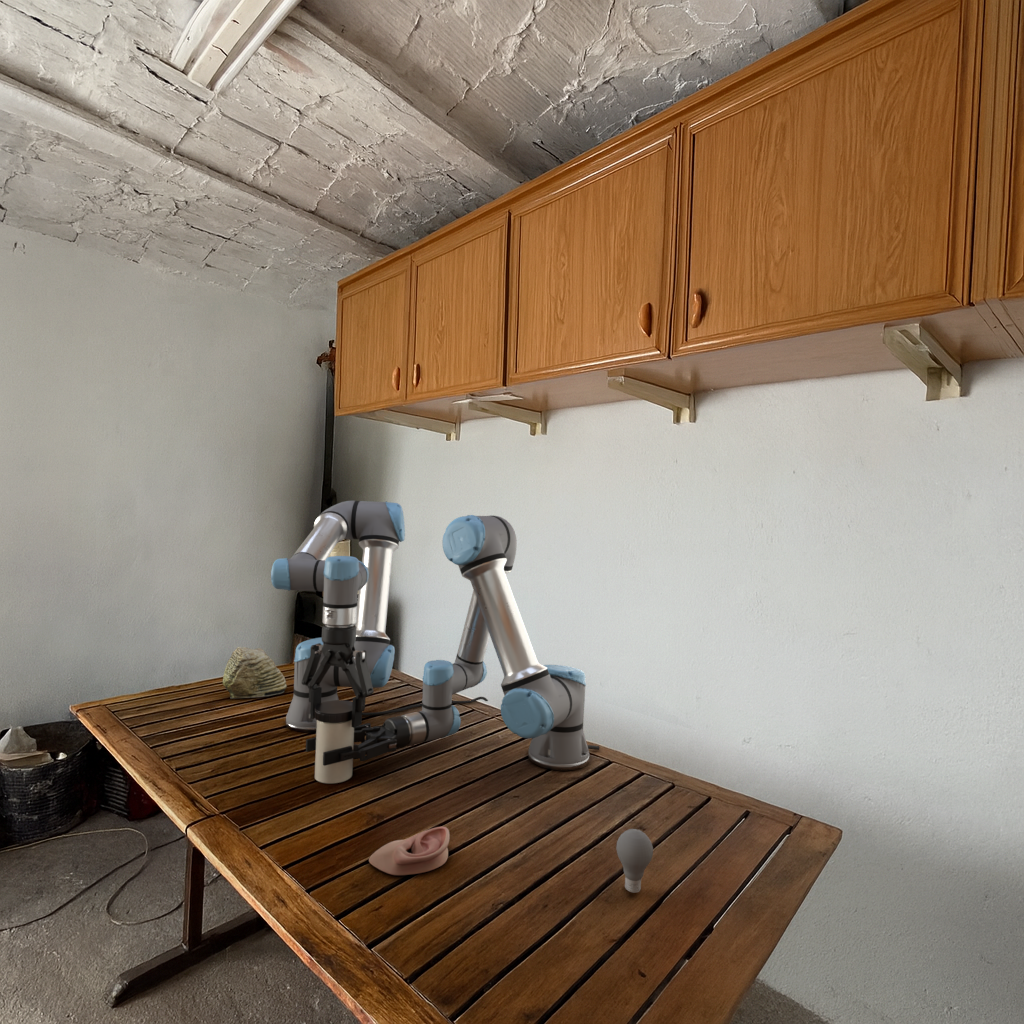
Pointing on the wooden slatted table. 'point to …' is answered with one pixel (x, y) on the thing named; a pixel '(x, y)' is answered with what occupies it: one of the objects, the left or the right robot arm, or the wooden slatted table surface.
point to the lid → (334, 711)
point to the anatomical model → (413, 853)
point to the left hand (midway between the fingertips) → (335, 721)
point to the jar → (331, 739)
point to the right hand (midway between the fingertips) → (315, 752)
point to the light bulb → (634, 857)
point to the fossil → (252, 674)
